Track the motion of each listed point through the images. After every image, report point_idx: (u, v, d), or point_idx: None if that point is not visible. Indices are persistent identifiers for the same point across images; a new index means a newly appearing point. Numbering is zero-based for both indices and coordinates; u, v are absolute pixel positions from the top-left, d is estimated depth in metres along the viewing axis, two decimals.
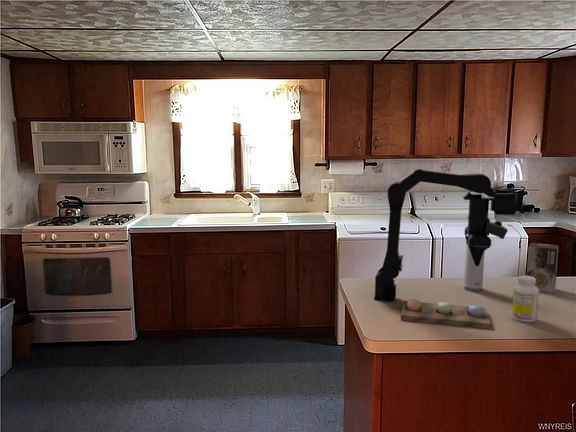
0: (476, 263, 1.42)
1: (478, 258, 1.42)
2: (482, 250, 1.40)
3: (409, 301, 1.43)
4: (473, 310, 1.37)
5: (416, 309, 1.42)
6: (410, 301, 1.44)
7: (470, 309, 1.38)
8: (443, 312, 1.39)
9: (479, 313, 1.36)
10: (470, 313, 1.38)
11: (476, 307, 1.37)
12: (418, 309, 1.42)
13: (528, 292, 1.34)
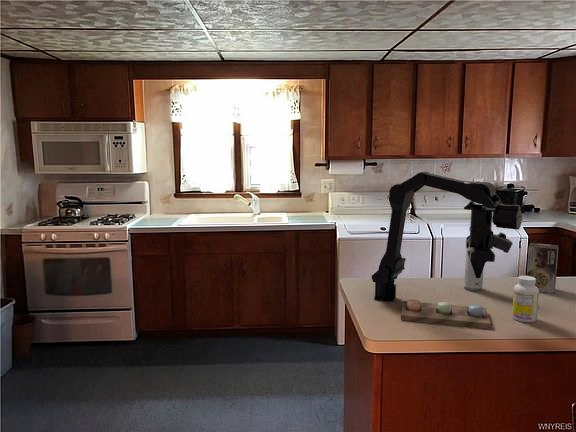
0: (477, 275, 1.35)
1: (479, 270, 1.35)
2: (483, 262, 1.33)
3: (409, 301, 1.43)
4: (473, 310, 1.37)
5: (416, 309, 1.42)
6: (410, 301, 1.44)
7: (470, 309, 1.38)
8: (443, 312, 1.39)
9: (479, 313, 1.36)
10: (470, 313, 1.38)
11: (476, 307, 1.37)
12: (418, 309, 1.42)
13: (528, 292, 1.34)
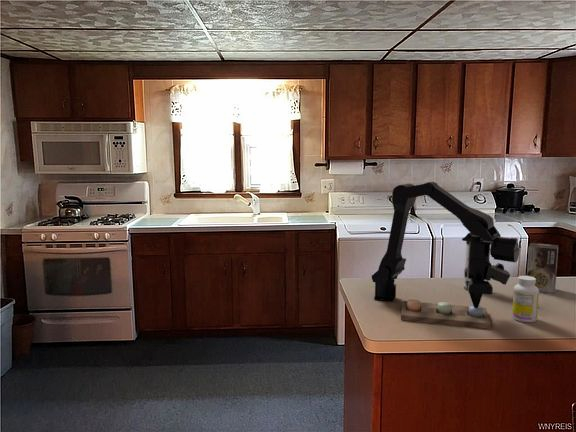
0: (475, 305, 1.37)
1: (477, 300, 1.37)
2: None
3: (409, 301, 1.43)
4: (473, 310, 1.37)
5: (416, 309, 1.42)
6: (410, 301, 1.44)
7: (470, 309, 1.38)
8: (443, 312, 1.39)
9: (479, 313, 1.36)
10: (470, 313, 1.38)
11: (476, 308, 1.38)
12: (418, 309, 1.42)
13: (528, 292, 1.34)
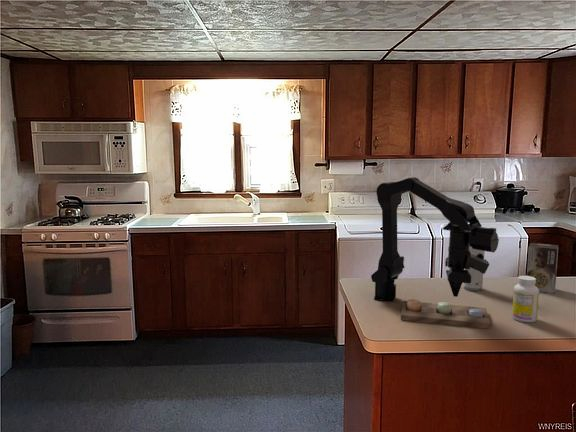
0: (454, 294, 1.39)
1: (457, 289, 1.38)
2: None
3: (409, 301, 1.43)
4: (472, 314, 1.37)
5: (416, 309, 1.42)
6: (410, 301, 1.44)
7: (470, 313, 1.38)
8: (443, 312, 1.39)
9: None
10: None
11: (476, 311, 1.38)
12: (418, 309, 1.42)
13: (528, 292, 1.34)
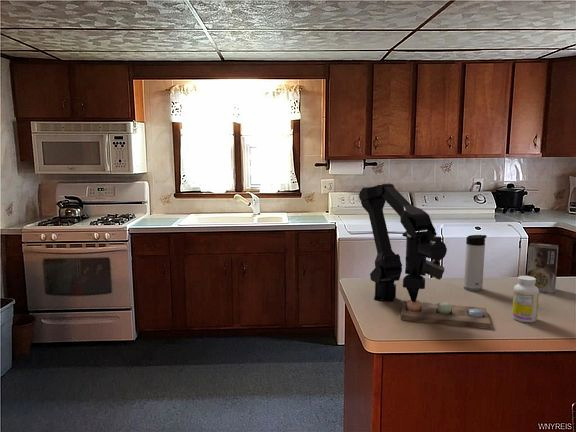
0: (413, 299, 1.43)
1: (415, 294, 1.42)
2: None
3: (409, 301, 1.43)
4: (472, 314, 1.37)
5: (416, 309, 1.42)
6: (410, 301, 1.44)
7: (470, 313, 1.38)
8: (443, 312, 1.39)
9: None
10: None
11: (476, 311, 1.38)
12: (418, 309, 1.42)
13: (528, 292, 1.34)
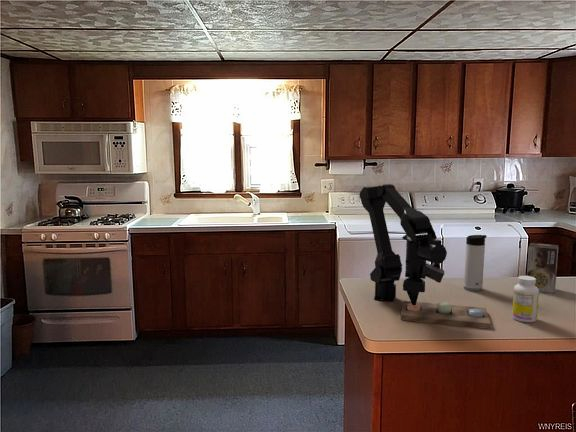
0: (413, 302, 1.43)
1: (415, 297, 1.42)
2: None
3: (409, 305, 1.44)
4: (472, 314, 1.37)
5: None
6: (410, 305, 1.44)
7: (470, 313, 1.38)
8: (443, 312, 1.39)
9: None
10: None
11: (476, 311, 1.38)
12: None
13: (528, 292, 1.34)
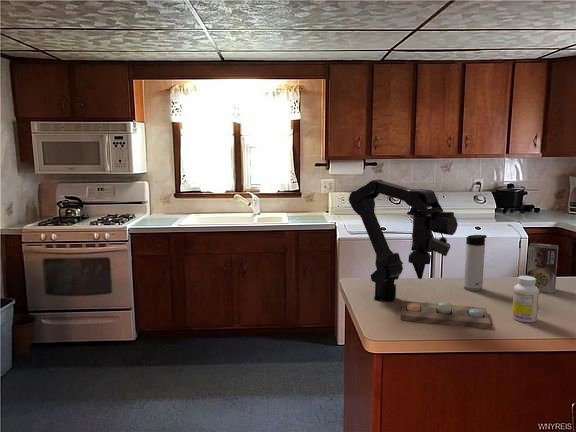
0: (419, 276, 1.45)
1: (421, 271, 1.45)
2: (424, 263, 1.43)
3: (409, 305, 1.44)
4: (472, 314, 1.37)
5: None
6: (410, 305, 1.44)
7: (470, 313, 1.38)
8: (443, 312, 1.39)
9: None
10: None
11: (476, 311, 1.38)
12: None
13: (528, 292, 1.34)
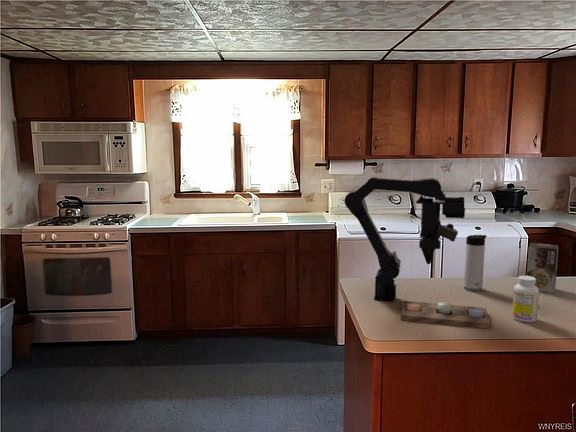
0: (427, 261, 1.51)
1: (429, 257, 1.50)
2: (432, 249, 1.49)
3: (409, 305, 1.44)
4: (472, 314, 1.37)
5: None
6: (410, 305, 1.44)
7: (470, 313, 1.38)
8: (443, 312, 1.39)
9: None
10: None
11: (476, 311, 1.38)
12: None
13: (528, 292, 1.34)
